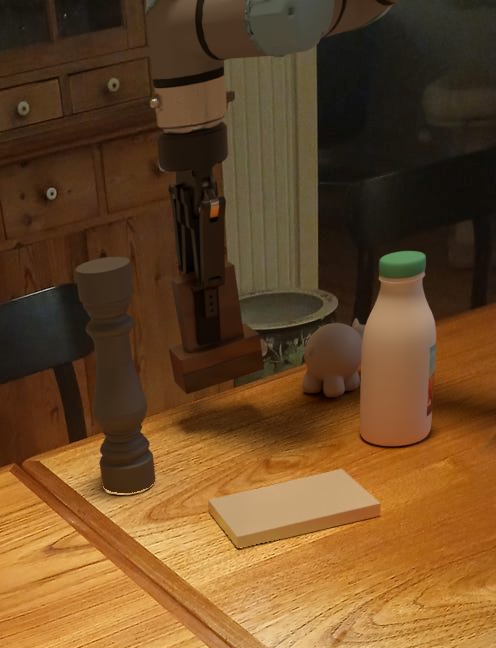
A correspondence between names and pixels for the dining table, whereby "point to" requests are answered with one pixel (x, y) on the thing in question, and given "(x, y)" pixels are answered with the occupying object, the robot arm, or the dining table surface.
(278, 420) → the dining table surface
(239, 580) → the dining table surface
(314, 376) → the round bodied animal figurine
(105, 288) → the candle holder
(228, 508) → the tile
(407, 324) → the milk bottle
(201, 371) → the stepped wooden block
